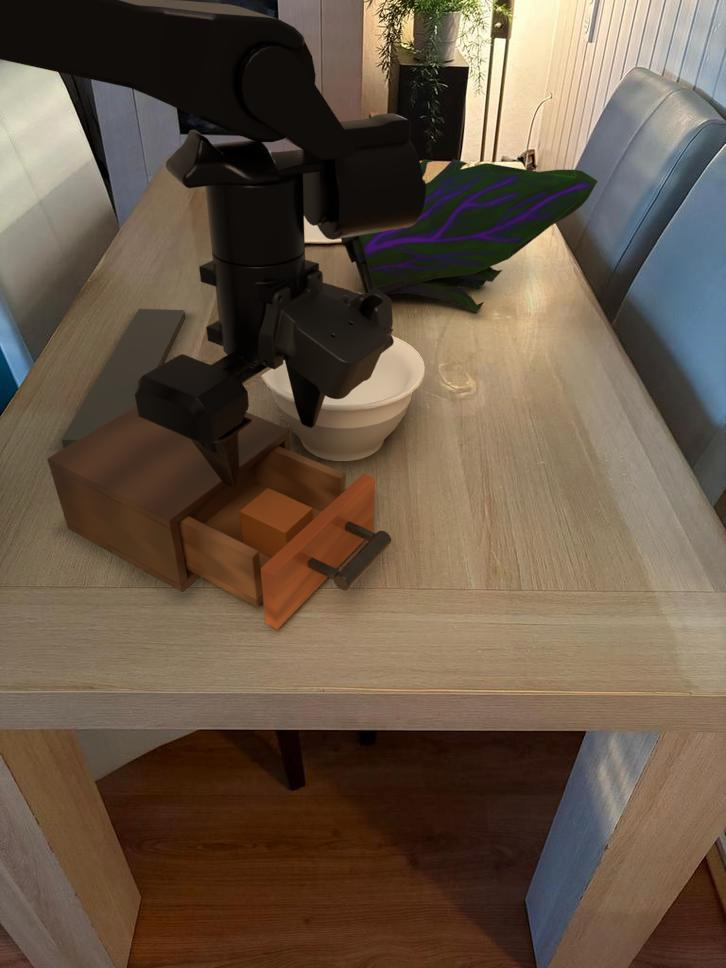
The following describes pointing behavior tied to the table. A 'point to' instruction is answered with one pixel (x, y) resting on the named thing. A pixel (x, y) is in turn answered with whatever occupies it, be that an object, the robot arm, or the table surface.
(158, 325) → the board
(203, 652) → the table surface
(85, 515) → the cabinet
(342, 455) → the bowl
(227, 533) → the drawer
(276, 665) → the table surface
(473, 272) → the decorative plant
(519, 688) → the table surface
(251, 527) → the orange cube block
